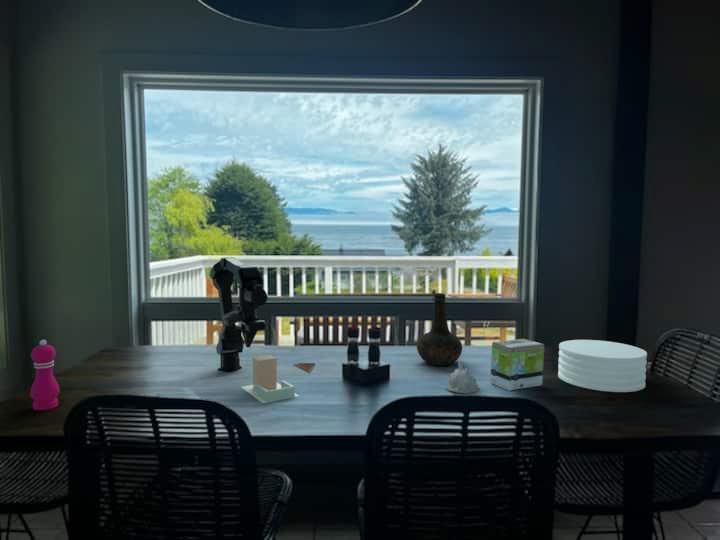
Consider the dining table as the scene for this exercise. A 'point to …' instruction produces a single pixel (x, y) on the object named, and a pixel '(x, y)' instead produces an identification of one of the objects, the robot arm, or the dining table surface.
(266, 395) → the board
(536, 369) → the tea box
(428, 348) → the glass bottle
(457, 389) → the seashell
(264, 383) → the beige cardboard box
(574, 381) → the plate stack
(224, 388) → the dining table surface
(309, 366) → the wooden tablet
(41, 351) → the pepper mill
